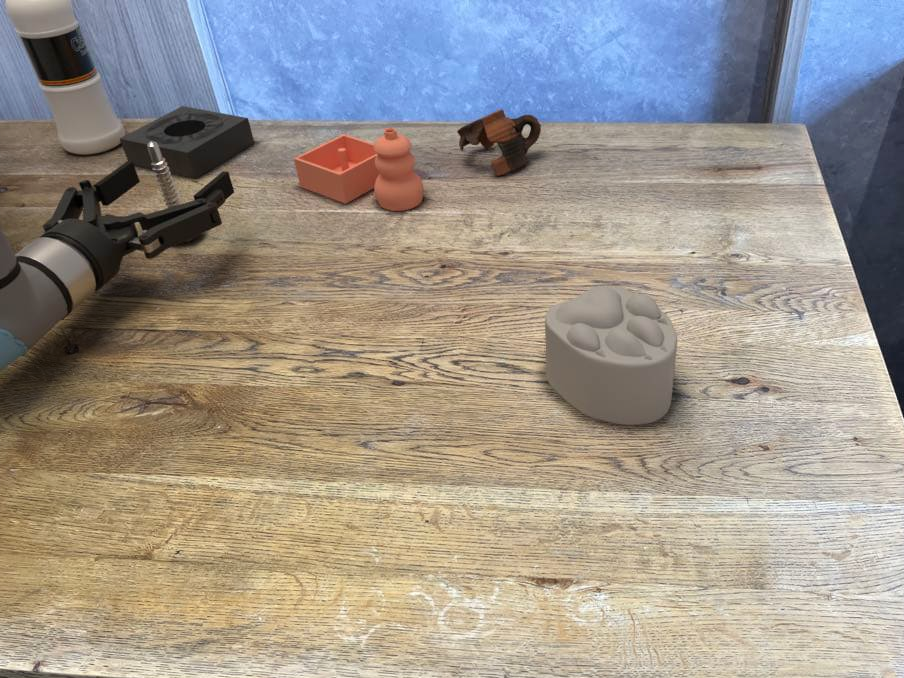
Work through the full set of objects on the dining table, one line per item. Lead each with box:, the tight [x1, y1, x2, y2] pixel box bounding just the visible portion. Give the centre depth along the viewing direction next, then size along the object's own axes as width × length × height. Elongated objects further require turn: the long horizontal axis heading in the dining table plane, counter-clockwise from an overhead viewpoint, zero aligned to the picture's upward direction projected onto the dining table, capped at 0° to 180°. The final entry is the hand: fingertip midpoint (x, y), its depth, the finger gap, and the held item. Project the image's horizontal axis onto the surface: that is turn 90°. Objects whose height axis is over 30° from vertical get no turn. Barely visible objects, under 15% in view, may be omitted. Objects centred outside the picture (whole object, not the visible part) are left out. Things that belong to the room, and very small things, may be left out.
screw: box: [147, 141, 198, 243], centre depth 101 cm, size 13×5×5 cm
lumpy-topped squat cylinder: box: [544, 285, 678, 426], centre depth 78 cm, size 10×13×9 cm
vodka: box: [4, 0, 126, 156], centre depth 118 cm, size 9×9×30 cm
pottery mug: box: [456, 109, 542, 177], centre depth 118 cm, size 12×10×8 cm
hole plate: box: [120, 105, 255, 180], centre depth 123 cm, size 13×13×4 cm
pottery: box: [293, 127, 424, 212], centre depth 110 cm, size 18×10×10 cm, turn 54°
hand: (180, 176), depth 102 cm, fingers open, 13 cm apart
